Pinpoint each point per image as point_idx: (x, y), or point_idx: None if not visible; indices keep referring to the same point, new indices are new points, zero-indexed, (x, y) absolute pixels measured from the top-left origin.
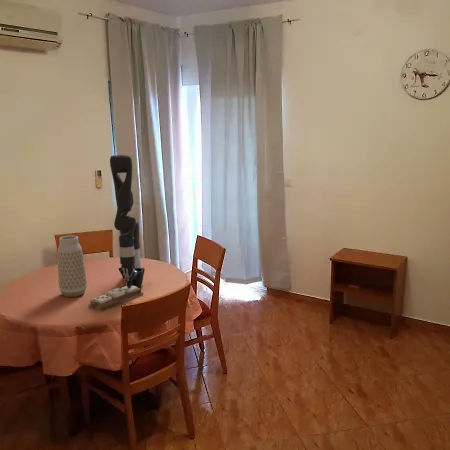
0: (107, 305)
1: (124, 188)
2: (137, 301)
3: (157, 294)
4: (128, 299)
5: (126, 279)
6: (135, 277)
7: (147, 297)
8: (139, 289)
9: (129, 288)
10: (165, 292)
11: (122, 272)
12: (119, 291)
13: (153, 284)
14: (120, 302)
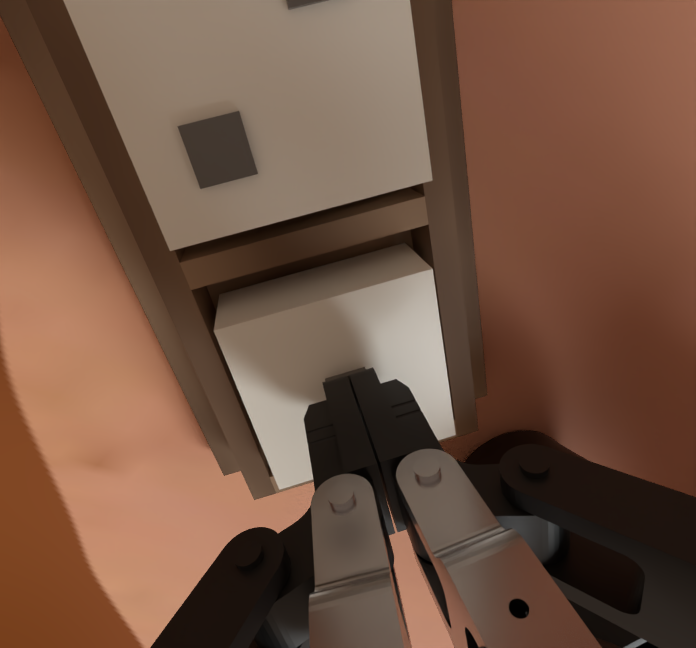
0: None
1: None
2: (3, 312)
3: (126, 564)
4: (106, 224)
5: (403, 471)
6: None
7: (93, 461)
8: (244, 477)
9: (304, 376)
10: (136, 629)
11: (685, 578)
12: (162, 106)
13: (425, 599)
14: (5, 19)
